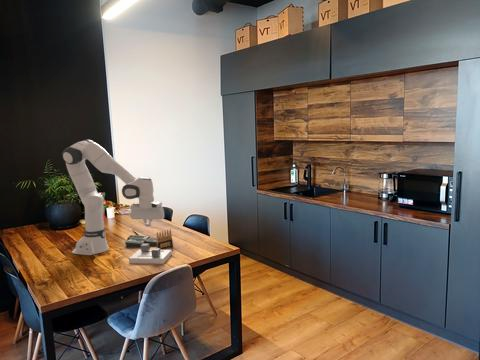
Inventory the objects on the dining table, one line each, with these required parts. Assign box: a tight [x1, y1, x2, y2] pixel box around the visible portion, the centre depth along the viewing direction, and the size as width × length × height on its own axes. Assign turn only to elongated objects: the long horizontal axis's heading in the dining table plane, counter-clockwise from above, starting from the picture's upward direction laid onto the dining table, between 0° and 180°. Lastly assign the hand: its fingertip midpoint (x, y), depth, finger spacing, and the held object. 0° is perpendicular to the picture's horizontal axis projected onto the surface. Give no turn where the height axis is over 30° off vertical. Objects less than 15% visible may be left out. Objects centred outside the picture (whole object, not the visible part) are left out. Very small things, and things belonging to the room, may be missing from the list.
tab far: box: [140, 244, 150, 252], centre depth 228 cm, size 4×4×4 cm
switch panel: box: [128, 248, 173, 265], centre depth 224 cm, size 21×15×3 cm
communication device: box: [124, 229, 157, 248], centre depth 251 cm, size 12×24×9 cm, turn 83°
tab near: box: [151, 247, 161, 257], centre depth 219 cm, size 4×4×4 cm
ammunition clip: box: [156, 229, 174, 250], centre depth 241 cm, size 11×2×12 cm, turn 125°
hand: (148, 226), depth 226 cm, fingers closed
